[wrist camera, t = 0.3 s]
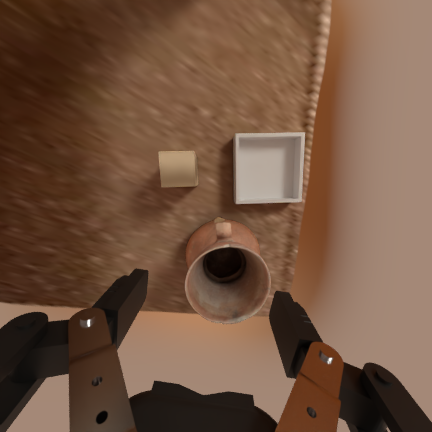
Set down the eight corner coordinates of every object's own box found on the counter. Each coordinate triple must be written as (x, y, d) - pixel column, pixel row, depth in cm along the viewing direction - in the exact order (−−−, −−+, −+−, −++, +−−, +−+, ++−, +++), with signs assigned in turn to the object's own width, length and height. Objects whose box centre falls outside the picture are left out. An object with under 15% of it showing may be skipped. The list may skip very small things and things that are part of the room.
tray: (233, 137, 38) (235, 133, 34) (296, 136, 38) (305, 132, 35) (233, 201, 40) (236, 204, 36) (293, 200, 40) (301, 201, 37)
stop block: (171, 158, 38) (158, 151, 28) (197, 158, 38) (193, 150, 28) (172, 185, 39) (161, 187, 29) (198, 184, 39) (195, 186, 29)
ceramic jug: (183, 212, 40) (170, 231, 26) (255, 207, 40) (280, 225, 26) (191, 292, 43) (182, 348, 30) (256, 288, 44) (278, 341, 30)
